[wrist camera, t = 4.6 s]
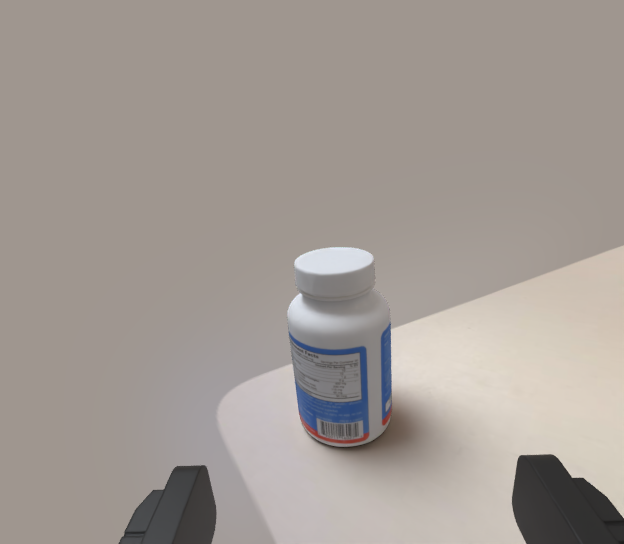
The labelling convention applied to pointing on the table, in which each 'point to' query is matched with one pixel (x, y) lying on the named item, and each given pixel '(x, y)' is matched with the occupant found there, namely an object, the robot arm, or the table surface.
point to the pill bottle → (340, 347)
